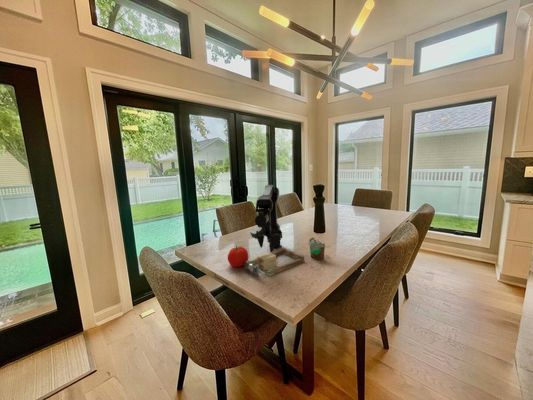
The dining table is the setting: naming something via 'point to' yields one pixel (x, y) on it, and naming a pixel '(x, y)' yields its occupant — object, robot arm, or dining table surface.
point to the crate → (267, 261)
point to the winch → (252, 268)
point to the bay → (274, 270)
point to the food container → (316, 249)
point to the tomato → (237, 256)
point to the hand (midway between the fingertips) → (266, 249)
